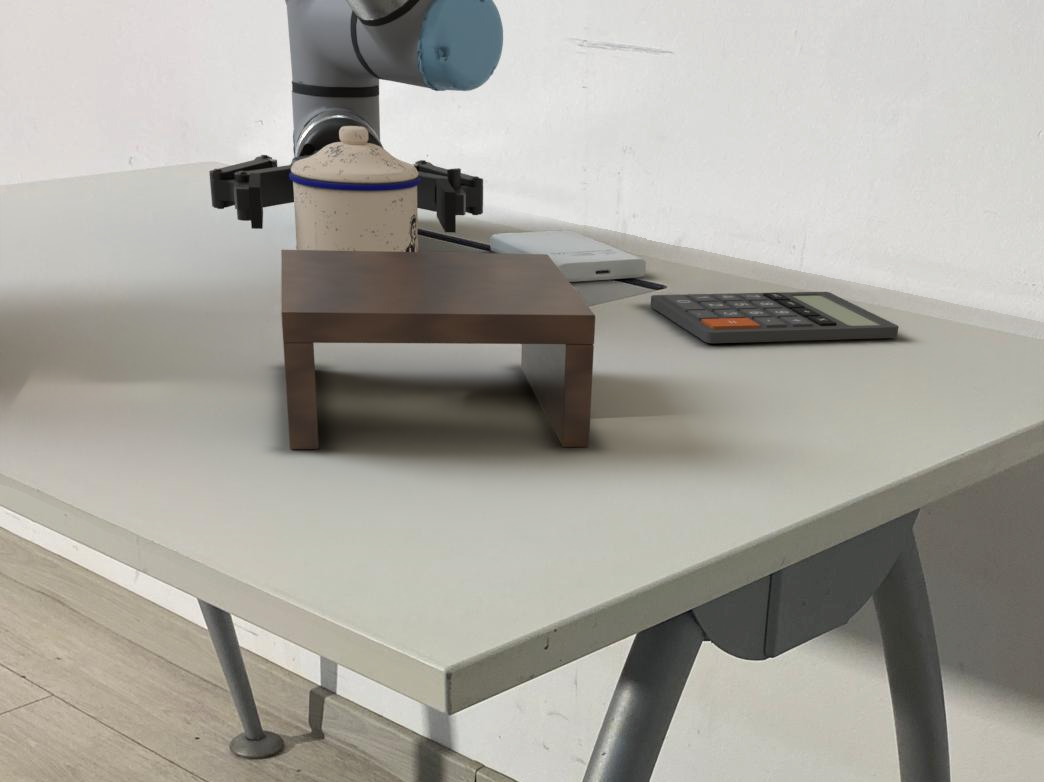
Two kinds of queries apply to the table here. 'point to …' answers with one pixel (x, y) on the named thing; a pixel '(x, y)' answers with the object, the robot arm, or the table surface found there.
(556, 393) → the shelf
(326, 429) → the table surface
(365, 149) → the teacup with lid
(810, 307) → the calculator
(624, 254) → the hard drive
